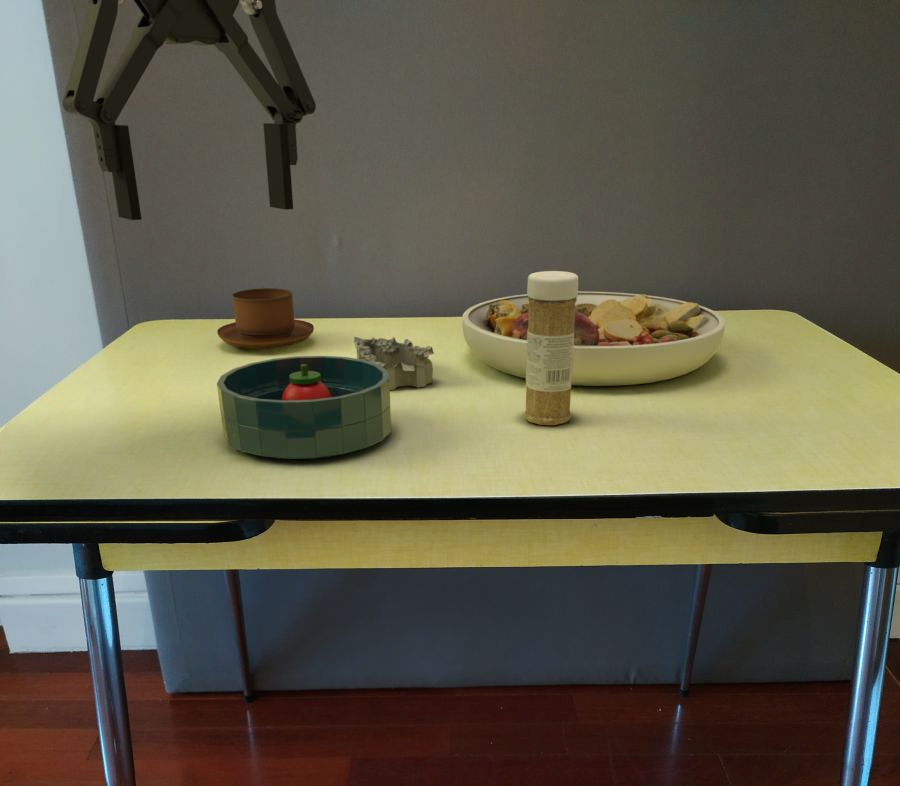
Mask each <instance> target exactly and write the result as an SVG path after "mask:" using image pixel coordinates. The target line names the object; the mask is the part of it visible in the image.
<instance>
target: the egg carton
mask: <svg viewBox="0 0 900 786" xmlns="http://www.w3.org/2000/svg"><path fill="white" fill-rule="evenodd" d="M353 339H354V340H353V341H354V342H353V343H354V348H355V349H356V359H361V360H366V361H369V362H372V363H375V364H378V365H381V366H382V367H383V368H385V369H386V370H387V371H389V384H390V391H392V390H396V388H398V387H407V386H409V387H410V386H411V387H415V388H425V387H426V386H427V385H429V384H431V383H432V382H433V372H434V366H433V362H432V360H431V359H429V356H432V355H435V352H434V348H433V347H432V346H430V345H427V346H425V347H424V346H419V345H417V344H416V345H414V343H413V342H412V341H411V340H409V339H408V338H406V339H404V341H403V342H398V341H397V340H396V338H395V336H394V337H391V338H390V339H387V338H385V337H384V338H381V337H380V338H376V337H375V338H374V337H373V336H372V337H371V338H370V339H368V338H362V337H358V336H354V337H353Z"/></svg>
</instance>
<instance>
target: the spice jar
mask: <svg viewBox="0 0 900 786" xmlns="http://www.w3.org/2000/svg"><path fill="white" fill-rule="evenodd" d="M526 286H527V287H526V294H527V296H528V301H529V316H528V332H527V366H526V378H525V387H526V389H525V390H526V391H525V411H524V415H523V416H524V418H525V419H526V421H528V422H529V423H532V424H537V425H541V426H542V425H543V426H557V425H562V424H565V423H567V422H568V421H570V419H571V417H572V413H571V394H572V385H571V383H572V369H573V346H574V323H575V303H576V301H577V298H576V297H577V296H578V292H579V276H578V275H577V273H574V272H571V271H570V272H569V271H564V270H563V271H562V270H545V271H537V272H533V273H529V274H528V276H527V285H526Z"/></svg>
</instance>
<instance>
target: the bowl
mask: <svg viewBox="0 0 900 786" xmlns="http://www.w3.org/2000/svg"><path fill="white" fill-rule="evenodd" d="M576 298H577V301H576V303H575V323H574V346H573V369H572V383H571V386H584V387H587V386H588V387H614V386H615V387H616V386H617V387H619V386H633V385H634V386H635V385H643V384H650V383H657V382H661V381H667V380H670V379H675V378H678V377H681V376H685V375H687V374H689V373H691V372H694V371H695V370H697V369H699V368H700V367H702V366H704V365H705V364H706V363H707V362H708V361H709V360H711V358H713V356H714V355H715V353H716V352H717V351H718V350H719V348H720V346H721V344H722V342H723V339H724V335H725V330H726V320H725V318H724V317H723V316H722V315H721V314H720V313H718V312H717V311H715V310H712V309H710V308H708V307H705V306H703V305H700V304H699V303H697V302H695V303H694V302H692V301H684V300H679V299H674V298H669V297H663V296H656V295H647V294H646V293H644V294H639V293H628V292H627V293H626V292H612V291H578V296H577V297H576ZM528 316H529V301H528V296H527V293H524V294H516V295H509V296H503V297H499V298H493V299H490V300H487V301H482V302H480V303H478V304H475V305H472V306H471V307H469V308H467V309H466V310H465V311H464V313H463V314H462V318H461V321H462V322H461V328H462V334H463V337H464V340H465V343H466V344H467V347H468V349H470V351H471V352H472V353H473V355H475V357H476V358H478V359H479V360H480V361H481V362H482V363H484V364H485V365H487V366H489V367H491V368H492V369H495V370H497V371H500V372H502V373H504V374H507V375H511V376H514V377H518V378H523V379H526V366H527V332H528Z"/></svg>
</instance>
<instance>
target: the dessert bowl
mask: <svg viewBox="0 0 900 786" xmlns="http://www.w3.org/2000/svg"><path fill="white" fill-rule="evenodd" d="M302 364H306V365H307V366H308V371H315V372H318V373H320V374H321V380H320V382H322V383H323V384H324V385H325V386H326V387H327V388H328V390H329V391H330V394H331V396H332V397H331V398H322V399H314V400H282V396H283V393H284V391H285V389H286V387H287V386H288V385H289V384H290V383H291V382H290V380H289V375H290V374H292V373H295V372H299V371H301V365H302ZM216 387H217V388H216V389H217V395H218V403H219V410H220V417H221V418H220V419H221V426H222V433H223V437H224V439H225V441H226V443H227V444H228V446H231V447H232V448H234V449H236V450H238V451H240V452H243V453H246V454H251V455H255V456H259V457H264V458H265V457H266V458H276V459H284V460H313V459H314V460H315V459H324V458H331V457H336V456H340V455H345V454H348V453H352V452H356V451H359V450H363V449H366V448H369V447H371V446H373V445H376V444H378V443H379V442H381V441H383V440H385V438H386V437H387V436H388V435H389V434H390V433H391V432H392V412H391V411H392V410H391V390H390V384H389V371H387V370H386V369H385V368H383V367H382V366H381V365H378V364H375V363H372V362H369V361H366V360H361V359H357V358H355V357H348V356H335V355H298V356H297V355H296V356H287V357H277V358H271V359H265V360H261V361H260V360H259V361H254V362H251V363H246V364H244V365H241V366H238V367H235V368H232V369H230V370H229V371H226V372H225V373H223V374H222V375H220V377H219V378H218V380H217V382H216Z"/></svg>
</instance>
